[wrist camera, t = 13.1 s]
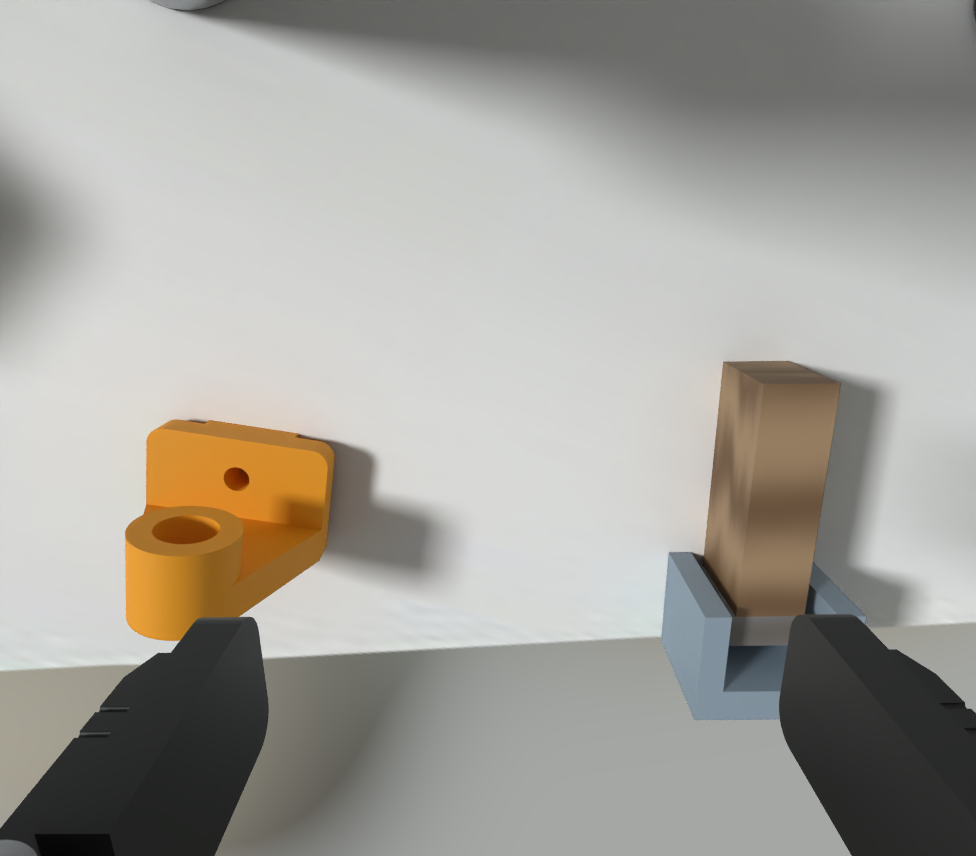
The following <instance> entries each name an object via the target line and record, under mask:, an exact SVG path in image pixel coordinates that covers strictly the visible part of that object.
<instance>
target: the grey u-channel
mask: <svg viewBox="0 0 976 856" xmlns="http://www.w3.org/2000/svg"><path fill="white" fill-rule="evenodd" d="M805 614H806V615H807V614H851V615H854V616H856V617H858V618H859V619H860V620H861V621H862V622H863V623H864V624H865V622H866V615H865V614H864V613H863V612H862V611H861V610H860V609H859V608H858V607H857V606H856V605H855V604H854V603H853V602H852V601H851V600H850V599H849V598H848V597H847V596H846V595H845V594H844V593H843V592H842V591H841V590H840V589H839V588H838V587H837V586H836V585H835V584H834V583H833V582H832V581H831V580H830V579H829V578H828V577H827V576H826V575H825V574H824V573H823V572H822V571H821V570H820V569H819V568H818V567H817V566H816V565H815V563H814V562H813V564H812V570H811V576H810V583H809V589H808V595H807V602H806V608H805ZM731 623H732V616H731V615H730V613H729V612H728V610H727V608H726V607H725V605H724V604H723V602H722V601H721V599H720V597H719V596H718V594H717V593H716V591H715V589H714V588H713V586H712V585H711V583H710V582H709V580H708V578H707V577H706V575H705V574H704V572H703V570H702V569H701V567H700V566H699V564H698V562H697V561H696V559H695V558H694V556H693V555H692V553H691V552H686V553H669V557H668V569H667V581H666V592H665V604H664V616H663V628H662V640H661V642H662V644H663V647H664V649H665V651H666V654H667V656H668V658H669V661H670V663H671V666H672V668H673V670H674V673H675V675H676V678H677V680H678V682H679V684H680V687H681V689H682V692H683V694H684V696H685V699H686V701H687V704H688V706H689V708H690V711H691V713H692V716H693V718H694V720H745V719H746V720H752V719H753V720H758V719H759V720H763V719H780V715H779V698H780V691H781V685H782V678H783V672H784V665H785V659H786V653H787V646H788V645H772V646H729V639H730V631H731Z"/></svg>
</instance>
